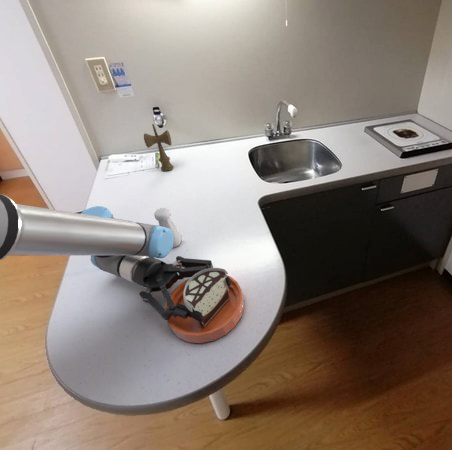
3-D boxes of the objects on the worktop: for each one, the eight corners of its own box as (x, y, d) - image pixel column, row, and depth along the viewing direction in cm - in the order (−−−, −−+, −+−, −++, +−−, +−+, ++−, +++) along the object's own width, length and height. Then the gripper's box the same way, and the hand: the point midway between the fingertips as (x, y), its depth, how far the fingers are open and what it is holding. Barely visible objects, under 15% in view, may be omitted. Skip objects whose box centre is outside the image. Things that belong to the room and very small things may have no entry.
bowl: (216, 356, 68) (212, 347, 65) (153, 327, 74) (148, 318, 71) (257, 294, 81) (255, 285, 78) (201, 274, 86) (197, 264, 84)
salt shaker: (178, 234, 99) (167, 202, 91) (186, 244, 96) (175, 211, 88) (161, 243, 96) (147, 210, 88) (168, 252, 93) (154, 219, 85)
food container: (215, 285, 82) (207, 259, 76) (233, 294, 80) (226, 268, 73) (181, 320, 74) (169, 295, 67) (200, 331, 71) (189, 306, 65)
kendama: (179, 170, 131) (165, 125, 118) (155, 174, 129) (138, 128, 116) (179, 164, 136) (166, 119, 123) (156, 167, 133) (140, 122, 121)
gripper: (178, 251, 89) (244, 274, 82) (113, 314, 73) (188, 349, 66) (171, 232, 84) (240, 255, 77) (100, 295, 68) (179, 330, 61)
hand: (216, 298), depth 71 cm, fingers closed on food container, 10 cm apart
